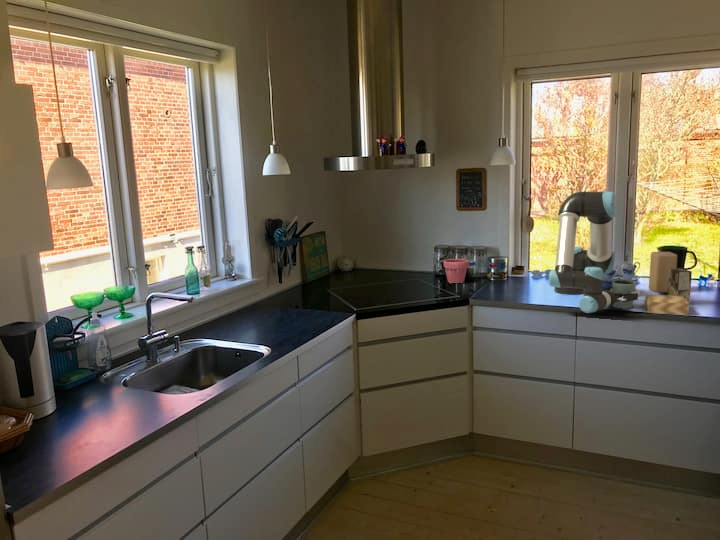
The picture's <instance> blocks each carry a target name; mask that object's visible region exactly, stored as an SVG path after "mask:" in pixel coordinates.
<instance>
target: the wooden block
mask: <svg viewBox="0 0 720 540" xmlns="http://www.w3.org/2000/svg"><path fill="white" fill-rule="evenodd" d="M649 262H650V263H649V279H648V289H649V290H651V291H653V293H656V292H657V294H659V293H662V294H663V293H665V294H666V293H667V289H668V273H669V269H674V268H678V267H677V266H678V254H676V253H673V252H672V251H652V252H651V253H650V261H649Z"/></svg>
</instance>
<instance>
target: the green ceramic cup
mask: <svg viewBox="0 0 720 540" xmlns="http://www.w3.org/2000/svg"><path fill="white" fill-rule="evenodd" d="M636 285H637V282H636V281H634V280H630V279H615V280H612V289H613V293H620V294H630V293H632V292H635V291H636V287H637V286H636ZM618 296H619V295H618ZM612 307H613V308H616V309H619V308H622V309H621V310H629V309H628V308H631V309H632V307H634V300H633V301H627V302H624V303H623V302H622V301H617V302H615V303H614V304H613V305H612Z"/></svg>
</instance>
